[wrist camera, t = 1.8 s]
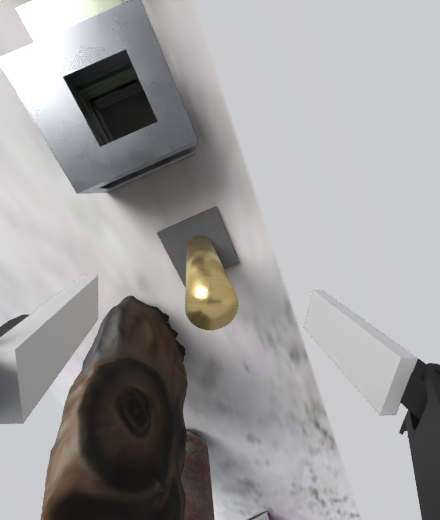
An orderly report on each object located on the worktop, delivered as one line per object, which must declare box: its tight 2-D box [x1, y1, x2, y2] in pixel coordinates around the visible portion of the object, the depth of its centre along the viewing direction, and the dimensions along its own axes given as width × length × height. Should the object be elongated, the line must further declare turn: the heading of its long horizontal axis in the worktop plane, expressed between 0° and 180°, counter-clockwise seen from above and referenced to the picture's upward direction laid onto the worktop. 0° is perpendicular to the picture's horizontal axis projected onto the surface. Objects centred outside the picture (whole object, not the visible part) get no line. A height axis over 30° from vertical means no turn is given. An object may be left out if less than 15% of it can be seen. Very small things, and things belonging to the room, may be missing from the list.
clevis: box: [0, 0, 198, 194], centre depth 19 cm, size 12×10×7 cm
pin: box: [185, 235, 238, 330], centre depth 20 cm, size 3×3×14 cm
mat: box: [157, 207, 239, 287], centre depth 27 cm, size 7×7×1 cm
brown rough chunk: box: [41, 296, 188, 520], centre depth 20 cm, size 13×13×20 cm
